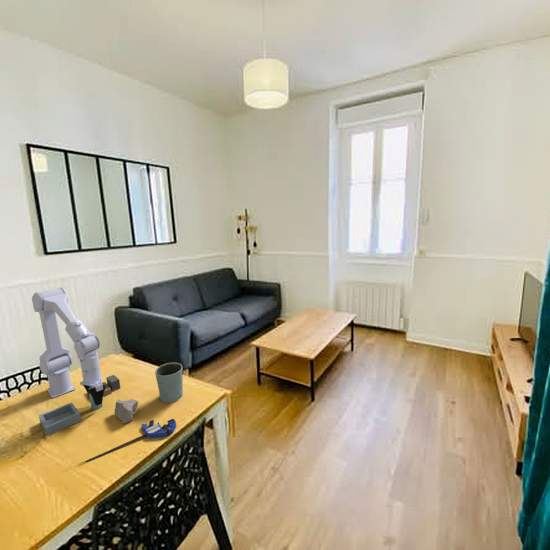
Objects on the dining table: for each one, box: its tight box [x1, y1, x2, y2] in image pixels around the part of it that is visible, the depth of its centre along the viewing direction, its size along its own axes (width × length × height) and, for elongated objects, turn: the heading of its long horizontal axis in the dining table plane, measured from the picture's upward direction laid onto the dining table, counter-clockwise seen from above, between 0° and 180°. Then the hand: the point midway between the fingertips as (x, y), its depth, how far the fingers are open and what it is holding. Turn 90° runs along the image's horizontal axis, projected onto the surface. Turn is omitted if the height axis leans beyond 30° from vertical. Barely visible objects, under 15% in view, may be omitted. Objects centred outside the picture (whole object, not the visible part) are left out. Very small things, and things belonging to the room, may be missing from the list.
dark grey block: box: [105, 374, 121, 392], centre depth 128 cm, size 6×3×4 cm, turn 47°
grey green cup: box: [154, 362, 184, 404], centre depth 119 cm, size 10×10×12 cm
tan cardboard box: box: [102, 381, 112, 398], centre depth 125 cm, size 8×6×2 cm
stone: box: [114, 398, 139, 424], centre depth 110 cm, size 10×8×6 cm
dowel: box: [88, 387, 103, 411], centre depth 115 cm, size 4×4×8 cm
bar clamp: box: [78, 418, 177, 467], centre depth 96 cm, size 32×2×10 cm
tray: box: [38, 402, 82, 437], centre depth 107 cm, size 10×10×3 cm
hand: (96, 401), depth 115 cm, fingers open, 5 cm apart
